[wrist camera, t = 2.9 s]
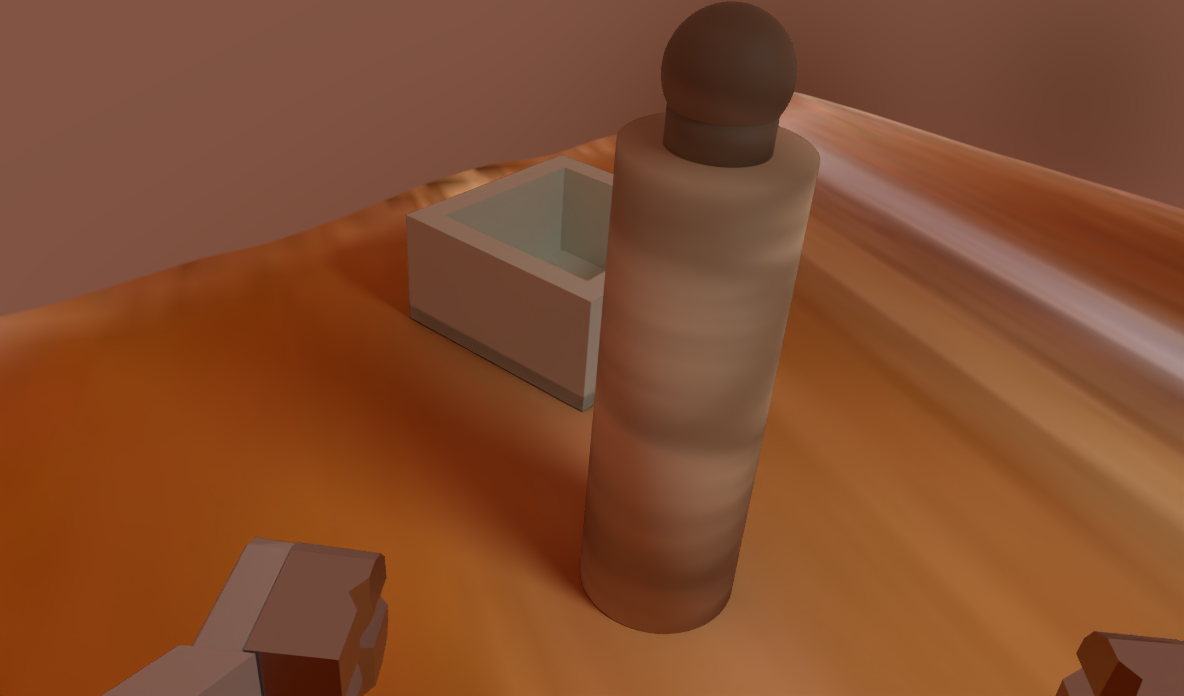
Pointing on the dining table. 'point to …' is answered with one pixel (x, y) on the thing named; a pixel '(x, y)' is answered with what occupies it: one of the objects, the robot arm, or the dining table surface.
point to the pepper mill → (693, 320)
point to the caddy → (519, 273)
